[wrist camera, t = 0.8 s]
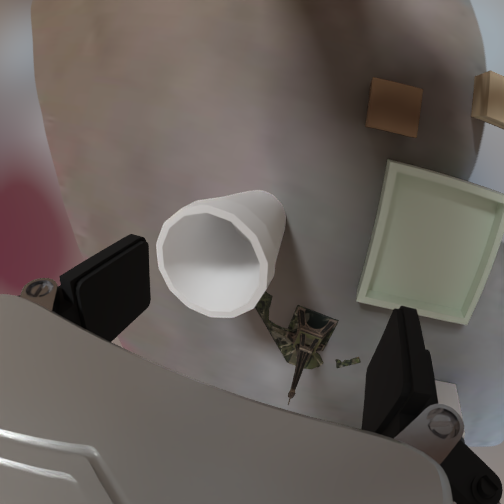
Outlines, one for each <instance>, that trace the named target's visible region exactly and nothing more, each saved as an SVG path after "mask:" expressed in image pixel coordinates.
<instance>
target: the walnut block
mask: <svg viewBox="0 0 504 504" xmlns="http://www.w3.org/2000/svg"><path fill="white" fill-rule="evenodd" d="M422 94H423V89H420V88H417V87H413V86H409V85H405V84H401V83H397V82H393V81H389V80H384V79H380V78H375V77H373V79H372V81H371V85H370V93H369V102H368V110H367V117H366V124H365V127H370V128H375V129H379V130H384V131H388V132H392V133H396V134H400V135H404V136H408V137H413V138H417V132H418V125H419V118H420V111H421V103H422Z"/></svg>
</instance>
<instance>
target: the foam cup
mask: <svg viewBox="0 0 504 504" xmlns="http://www.w3.org/2000/svg"><path fill="white" fill-rule="evenodd" d="M285 225H286V213H285V211H284V208H283V206H282V203H281V202H280V201H279V200H278V199H277V198H276V197H275V196H274V195H272V194H271V193H268V192H265V191H262V190H254V191H246V192H241V193H237V194H233V195H228V196H224V197H218V198H211V199H204V200H197V201H195V202H193V203H191V204H189V205H187V206H185V207H183V208H181V209H180V210H179V211H178V212H176V213H175V214H174V215H173V216H171V217H170V218H169V219H168V220H167V221H165V222H164V224H163V227H162V229H161V232H160V235H159V237H158V240H157V243H156V248H157V259H158V268H159V270H160V272H161V274H162V276H163V278H164V280H165V282H166V284H167V286H168V288H169V290H170V291H171V292H172V293H174V294H175V295H176V296H177V297H178V298H179V299H180V300H181V301H182V302H183V303H184V304H185V305H186V306H187V307H189V308H191V309H193V310H195V311H197V312H200V313H202V314H204V315H206V316H209V317H219V318H234V317H236V316H239V315H241V314H243V313H245V312H247V311H249V310H251V309H254V307H255V306H256V304H257V303H258V301H259V300H260V298H261V297H262V295H263V294H264V292H265V291H266V289H267V287H268V286H269V284H270V282H271V280H272V279H273V277H274V275H275V263H276V259H277V256H278V252H279V249H280V245H281V242H282V238H283V234H284V231H285Z"/></svg>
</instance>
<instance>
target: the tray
mask: <svg viewBox="0 0 504 504" xmlns="http://www.w3.org/2000/svg"><path fill="white" fill-rule="evenodd" d="M503 233H504V194H503V193H500V192H497V191H495V190H492V189H489V188H486V187H483V186H480V185H477V184H474V183H471V182H468V181H465V180H462V179H459V178H456V177H453V176H449V175H446V174H443V173H439V172H436V171H432V170H429V169H425V168H421V167H418V166H414V165H410V164H406V163H402V162H398V161H394V160H390V159H387V165H386V170H385V176H384V181H383V186H382V191H381V196H380V200H379V205H378V210H377V214H376V219H375V223H374V227H373V231H372V235H371V240H370V244H369V248H368V251H367V255H366V259H365V263H364V267H363V270H362V274H361V277H360V281H359V284H358V288H357V298H356V302H361V303H365V304H369V305H374V306H378V307H383V308H387V309H392V310H394V309H395V308H396V309H399V308H400V306H406V307H410V308H414V309H416V310H417V313H418V315H420V316H424V317H429V318H434V319H439V320H443V321H448V322H453V323H458V324H463V325H467V324H468V322H469V320H470V318H471V316H472V314H473V311H474V309H475V307H476V305H477V303H478V300H479V298H480V296H481V293H482V291H483V289H484V286H485V284H486V281H487V279H488V276H489V274H490V271H491V268H492V266H493V263H494V260H495V258H496V255H497V252H498V249H499V246H500V243H501V240H502V237H503Z"/></svg>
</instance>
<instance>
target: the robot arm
mask: <svg viewBox="0 0 504 504" xmlns="http://www.w3.org/2000/svg"><path fill="white" fill-rule="evenodd" d="M60 282H61V285H60V286H57V283H56V282H55V281H54V280H52V279H49V278H40V279H36V280H33V281H31V282H29V283H28V284H26V285H25V286H24V288H23V289H22V292H21V295H20V296H13V295H6V294H0V504H501V503H500V502H499V501H500V499H501V496H502V484H501V481H500V479H499V477H498V476H497V475H496V474H495V473H494V472H493V471H492V470H491V469H490V468H489V467H488V466H487V465H486V464H485V463H484V462H483V461H482V460H481V459H480V458H479V457H478V456H477V455H476V454H474V452H473V451H472V450H470V448H468V447H467V446H466V445H465V444H464V443H463V442H462V441H461V440H460V439H461V437H462V435H463V433H464V423H463V420H462V418H461V417H460V415H459V414H458V413H457V412H456V411H455V410H454V409H453V408H451V407H449V406H447V405H444V404H438V397H437V391H436V384H435V378H434V372H433V366H432V361H431V356H430V352H429V351H428V350H426V349H425V346H424V341H423V336H422V331H421V326H420V321H419V317H418V313H417V310H416V309H414V308H410V307H406V306H400V308H399V309H396V308H395V309H394V310H393V312H392V315H391V317H390V319H389V322H388V324H387V326H386V329H385V331H384V333H383V335H382V338H381V340H380V342H379V344H378V346H377V349H376V351H375V353H374V355H373V357H372V359H371V361H370V363H369V366H368V368H367V373H366V385H365V399H364V411H363V421H362V430H361V429H357V428H353V427H349V426H345V425H341V424H337V423H334V422H330V421H325V420H321V419H317V418H313V417H310V416H306V415H302V414H299V413H295V412H292V411H288V410H285V409H281V408H278V407H274V406H271V405H268V404H265V403H261V402H258V401H255V400H252V399H249V398H246V397H243V396H240V395H237V394H234V393H231V392H228V391H226V390H223V389H220V388H217V387H215V386H212V385H209V384H206V383H204V382H201V381H199V380H196V379H193V378H191V377H188V376H186V375H183V374H181V373H178V372H176V371H174V370H171V369H169V368H166V367H164V366H162V365H159V364H157V363H155V362H152V361H150V360H148V359H146V358H143V357H141V356H139V355H137V354H135V353H132V352H130V351H128V350H126V349H124V348H122V347H120V346H118V345H115V344H113V343H111V341H112V340H114V339H115V338H116V337H117V336H118V335H119V334H120V333H121V332H122V331H123V330H124V329H125V328H126V327H127V326H128V325H129V324H130V323H132V322H133V321H134V320H135V319H136V318H137V317H138V316H139V315H140V314H141V313H142V312H143V311H144V310H145V309H147V308H148V306H149V304H150V300H151V298H150V277H149V246H148V243H147V242H146V240H145V238H144V237H140V236H137V235H133V234H130V235H128V236H126V237H124V238H123V239H121V240H119V241H117V242H116V243H114V244H112V245H111V246H109V247H107V248H105V249H104V250H102V251H100V252H99V253H97V254H95V255H94V256H92V257H90V258H89V259H87V260H85V261H84V262H82V263H80V264H79V265H77V266H75V267H74V268H73V269H71V270H69V271H67V272H66V273H64V274H63V275H61V276H60Z"/></svg>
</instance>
